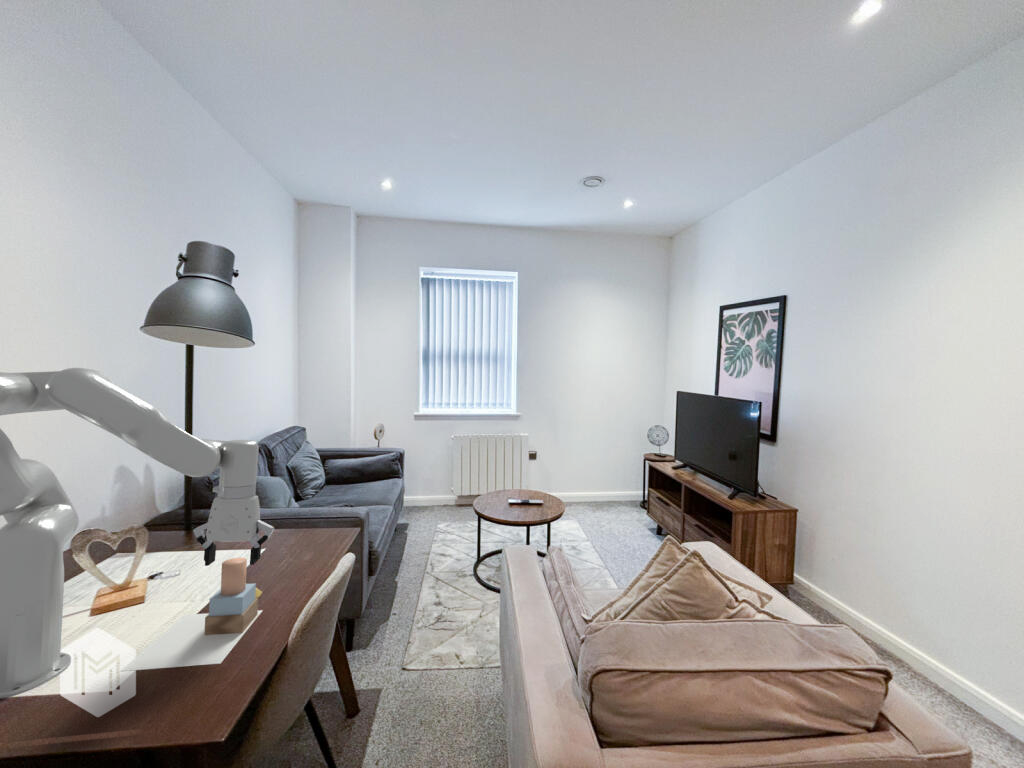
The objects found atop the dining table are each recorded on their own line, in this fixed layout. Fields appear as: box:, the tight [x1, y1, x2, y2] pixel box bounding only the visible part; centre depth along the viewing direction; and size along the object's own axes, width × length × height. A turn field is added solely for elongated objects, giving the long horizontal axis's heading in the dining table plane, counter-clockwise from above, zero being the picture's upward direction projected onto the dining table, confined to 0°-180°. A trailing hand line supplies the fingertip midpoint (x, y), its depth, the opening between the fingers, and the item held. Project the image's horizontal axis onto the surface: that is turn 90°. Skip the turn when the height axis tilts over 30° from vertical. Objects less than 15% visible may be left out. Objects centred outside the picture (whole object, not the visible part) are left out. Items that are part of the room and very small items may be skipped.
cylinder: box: [220, 557, 248, 596], centre depth 99 cm, size 5×5×7 cm
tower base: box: [204, 597, 259, 635], centre depth 99 cm, size 8×8×4 cm
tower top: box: [208, 583, 257, 616], centre depth 99 cm, size 7×7×4 cm
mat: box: [120, 609, 264, 672], centre depth 94 cm, size 18×21×1 cm
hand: (232, 563), depth 99 cm, fingers open, 9 cm apart
